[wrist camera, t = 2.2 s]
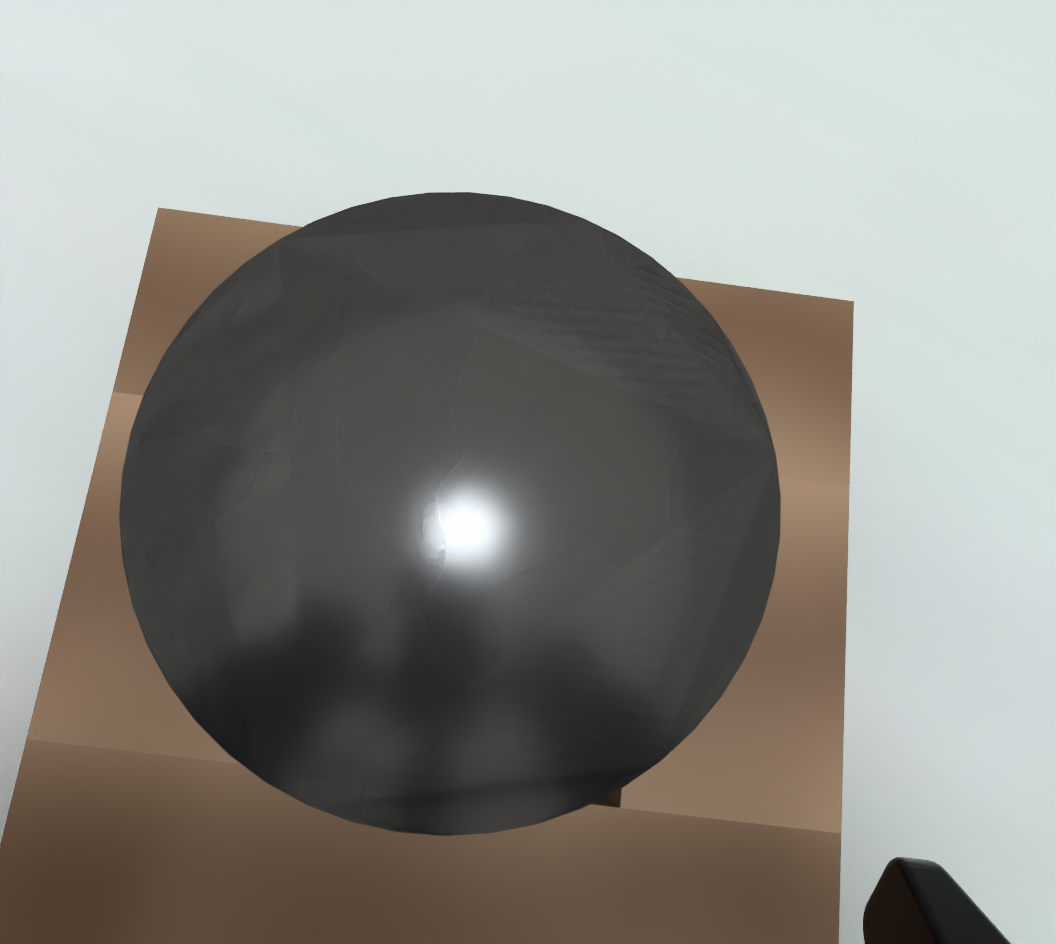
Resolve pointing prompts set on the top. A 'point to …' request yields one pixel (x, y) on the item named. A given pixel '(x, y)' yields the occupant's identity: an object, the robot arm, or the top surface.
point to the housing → (431, 860)
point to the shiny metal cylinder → (450, 513)
